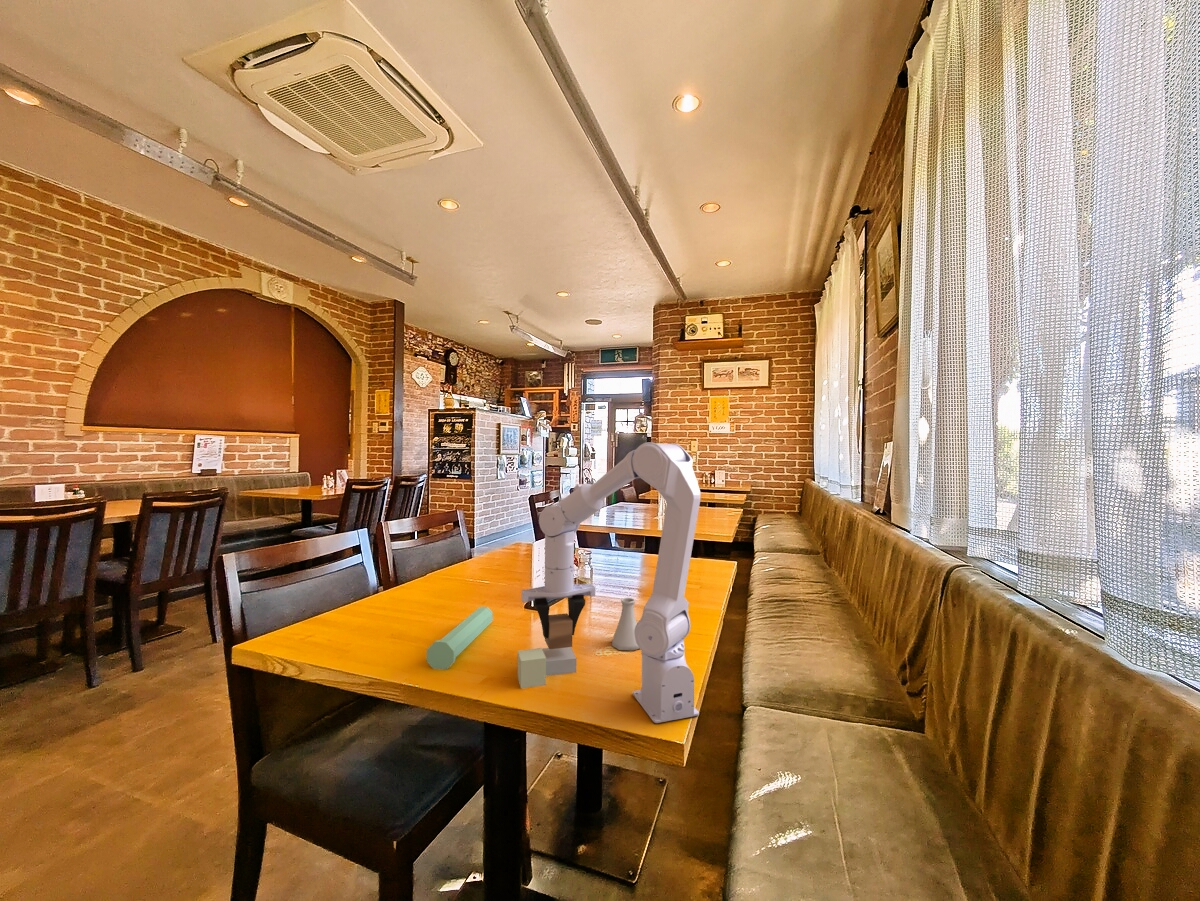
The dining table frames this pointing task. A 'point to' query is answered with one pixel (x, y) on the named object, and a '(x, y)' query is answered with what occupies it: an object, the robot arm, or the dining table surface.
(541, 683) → the sage block
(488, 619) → the green octagonal rod
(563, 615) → the walnut block
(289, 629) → the dining table surface
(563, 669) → the stone slab
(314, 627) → the dining table surface
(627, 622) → the flask
